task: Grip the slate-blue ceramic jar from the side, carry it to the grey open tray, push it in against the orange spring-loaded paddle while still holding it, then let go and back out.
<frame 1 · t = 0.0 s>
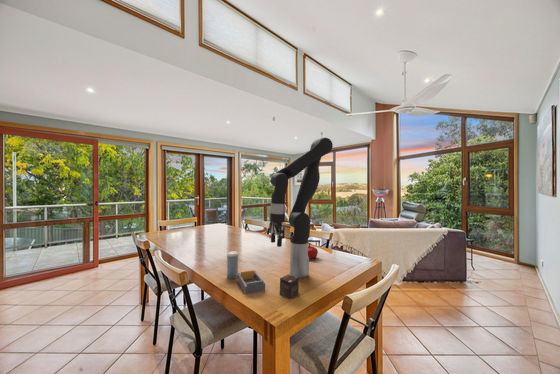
hand: (275, 244, 114), 17 cm above the table, tool pointing down, fingers open, 8 cm apart
grey open tray: (250, 284, 106), on the table
pomegranate: (309, 258, 147), on the table
jar: (232, 276, 116), on the table
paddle: (247, 274, 111), point 3 cm above the table, slide at 0.0 cm
box: (289, 295, 97), on the table
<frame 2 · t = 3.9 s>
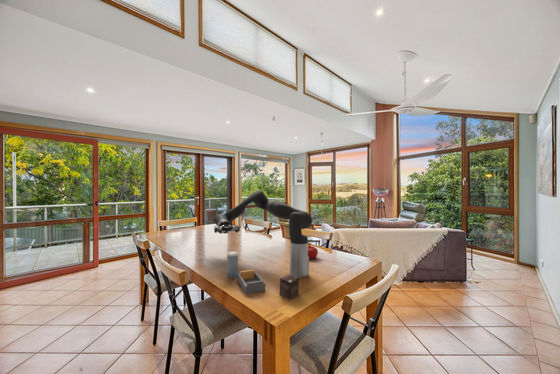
hand: (229, 231, 125), 21 cm above the table, tool horizontal, fingers open, 8 cm apart
nothing on the table moved.
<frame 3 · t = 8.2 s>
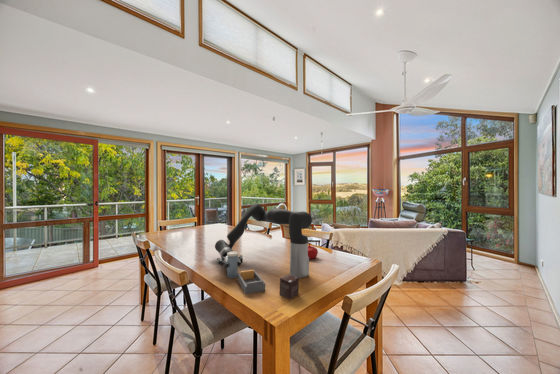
hand: (233, 265, 113), 7 cm above the table, tool horizontal, fingers closed on jar, 5 cm apart
jar: (232, 276, 115), on the table, touching gripper
everything else where it was.
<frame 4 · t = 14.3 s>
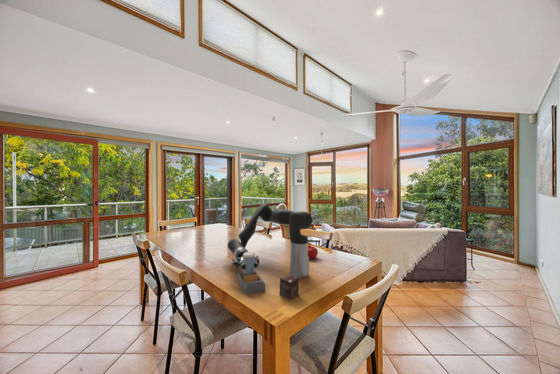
hand: (250, 266, 106), 9 cm above the table, tool horizontal, fingers closed on jar, 5 cm apart
jar: (248, 278, 109), point 2 cm above the table, touching gripper, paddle
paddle: (250, 279, 106), point 3 cm above the table, slide at 6.3 cm, touching jar
everything else where it was.
when the fingers open (9 cm above the table, at t = 14.8 s): jar drops 2 cm, resting on grey open tray, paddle.
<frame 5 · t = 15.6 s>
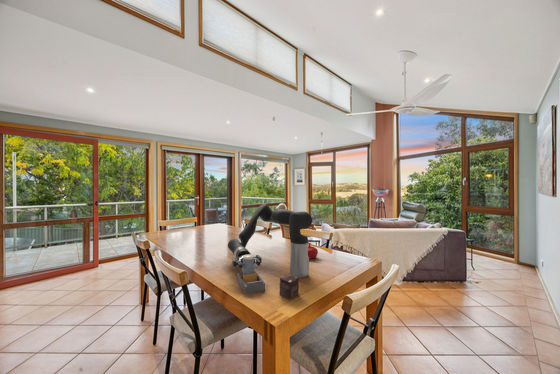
hand: (250, 265, 106), 9 cm above the table, tool horizontal, fingers open, 8 cm apart
jar: (247, 280, 110), resting on grey open tray, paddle
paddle: (250, 278, 107), point 2 cm above the table, slide at 4.9 cm, touching jar
everything else where it was.
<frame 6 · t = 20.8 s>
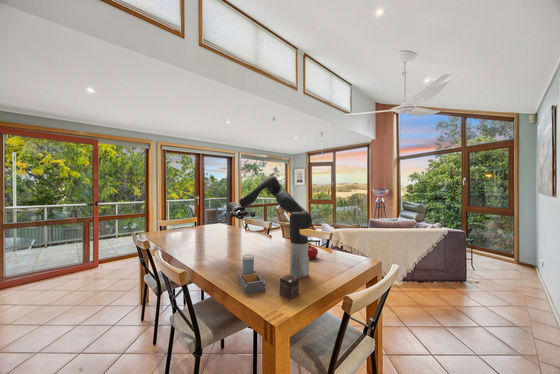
hand: (245, 215, 124), 30 cm above the table, tool horizontal, fingers open, 8 cm apart
nothing on the table moved.
at the end: jar 2.5 cm from the target spot on the grey open tray, point 0.3 cm above the grey open tray's base; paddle slide at 4.9 cm; jar tilted 0° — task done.
